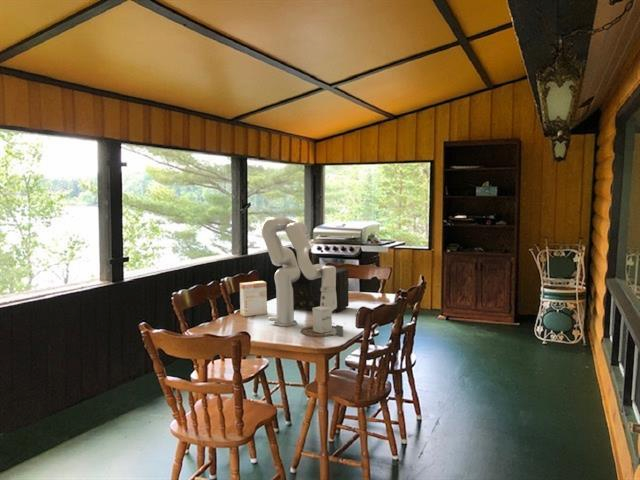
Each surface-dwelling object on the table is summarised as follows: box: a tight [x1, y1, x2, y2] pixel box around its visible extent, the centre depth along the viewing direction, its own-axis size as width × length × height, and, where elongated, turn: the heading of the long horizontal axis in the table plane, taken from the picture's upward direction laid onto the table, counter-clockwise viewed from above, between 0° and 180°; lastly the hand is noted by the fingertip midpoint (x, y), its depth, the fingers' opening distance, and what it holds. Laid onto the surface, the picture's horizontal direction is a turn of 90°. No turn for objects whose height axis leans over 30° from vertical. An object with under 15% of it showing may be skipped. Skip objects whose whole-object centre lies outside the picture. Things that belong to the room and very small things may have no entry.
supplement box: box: [311, 306, 333, 334], centre depth 283 cm, size 7×7×13 cm
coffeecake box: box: [239, 280, 268, 317], centre depth 328 cm, size 15×7×20 cm, turn 118°
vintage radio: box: [291, 266, 350, 313], centre depth 341 cm, size 38×20×25 cm, turn 68°
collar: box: [300, 324, 344, 338], centre depth 282 cm, size 22×26×5 cm
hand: (327, 322), depth 291 cm, fingers closed
